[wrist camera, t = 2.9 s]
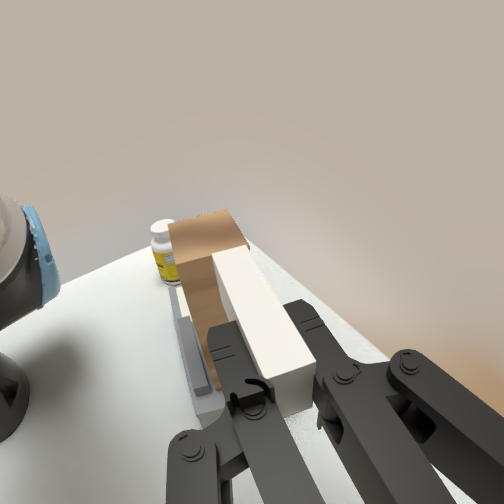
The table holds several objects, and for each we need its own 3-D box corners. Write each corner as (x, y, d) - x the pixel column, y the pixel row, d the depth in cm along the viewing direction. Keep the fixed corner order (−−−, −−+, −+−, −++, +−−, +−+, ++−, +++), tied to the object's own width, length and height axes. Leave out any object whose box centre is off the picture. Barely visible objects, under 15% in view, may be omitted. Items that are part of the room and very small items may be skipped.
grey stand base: (296, 407, 32) (297, 375, 28) (207, 435, 30) (192, 407, 26) (242, 296, 48) (237, 260, 44) (177, 314, 46) (165, 279, 42)
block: (265, 375, 30) (249, 245, 22) (216, 390, 29) (175, 264, 21) (246, 333, 35) (227, 209, 26) (202, 346, 34) (167, 223, 25)
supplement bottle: (159, 271, 55) (144, 222, 50) (188, 262, 57) (176, 213, 51) (164, 289, 51) (147, 238, 45) (195, 280, 52) (183, 227, 47)
